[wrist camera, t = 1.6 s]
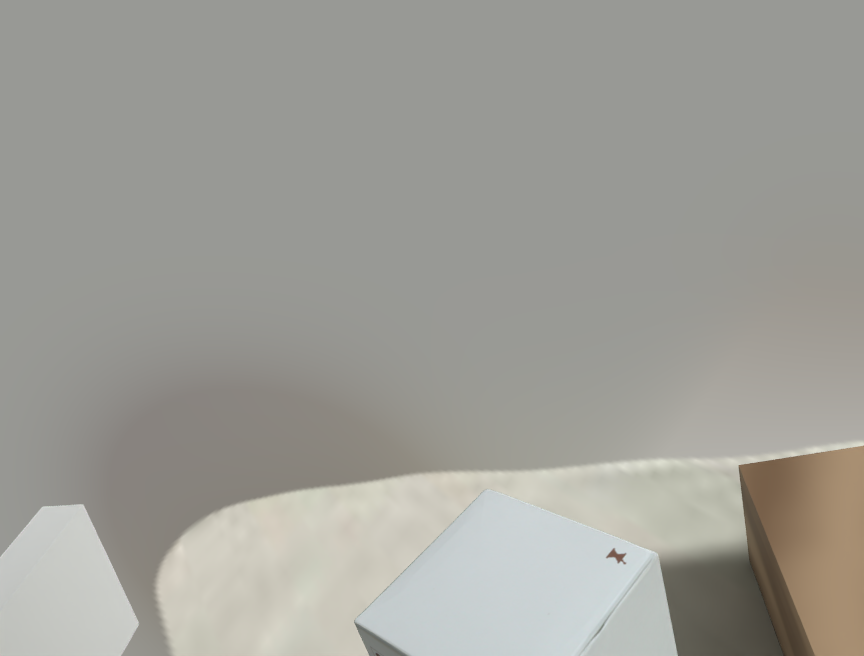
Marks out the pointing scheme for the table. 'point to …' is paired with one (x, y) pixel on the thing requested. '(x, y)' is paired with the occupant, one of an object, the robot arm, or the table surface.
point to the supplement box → (522, 591)
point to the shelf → (809, 548)
